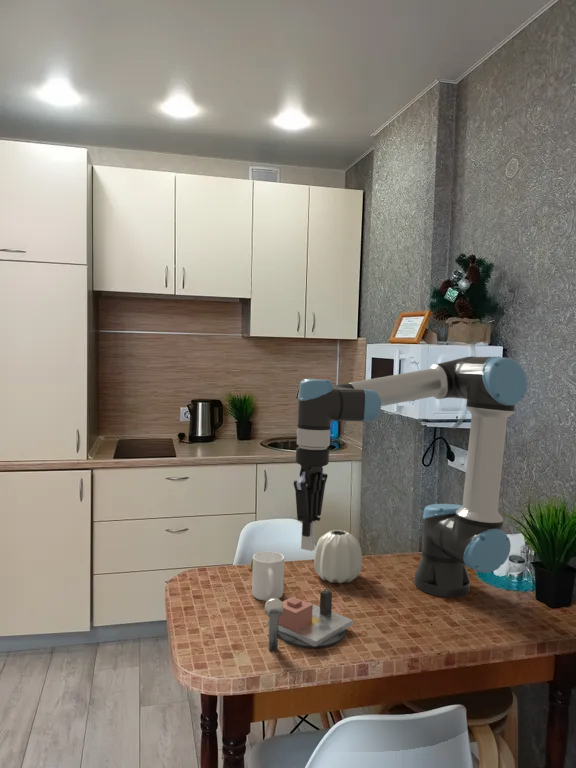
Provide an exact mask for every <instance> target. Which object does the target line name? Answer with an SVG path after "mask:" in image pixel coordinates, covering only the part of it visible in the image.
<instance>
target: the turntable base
mask: <svg viewBox="0 0 576 768" xmlns="http://www.w3.org/2000/svg"><path fill="white" fill-rule="evenodd" d="M345 636H346V629H345V630H343V631H342V632H340V633H338V634H337V635H335V636H333V637H332V638H330V639H328V640H327V641H325V642H323V643H322V644H320V645H318V646H317V647H314V646H312V645H310V644H308V643H305V642H303V641H301V640H299V639H296V638H294V637H292V636H290V635H288V634H285V633H283V632H281V631H279V630H278V639H280V640H281V641H283V642H285V643H286V644H288V645H291V646H295V647H298V648H303V649H324V648H325V649H326V648H329V647H333V646H335V645H337V644H339V643H340V642H341V641H343V639H344V638H345Z"/></svg>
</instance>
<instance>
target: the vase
mask: <svg viewBox="0 0 576 768" xmlns="http://www.w3.org/2000/svg"><path fill="white" fill-rule="evenodd" d="M315 545H316V546H315V549H314V555H313V557H314V558H313V559H314V560H313V562H314V567H313V568H314V572H315V573H316V574H317V575H318V577H319V578H320V579H321V580H323V581H328V582H329V583H332V584H333V583H337V584H343V583H351V582H352V581H354V580H355V579H356V578H357V577H358V576H359V574H360V573H361V571H362V569H363V554H362V548H361V544H360V542H359V541H358V540H357V538H356V537H354V535H352V534H351V533H350V532H348V531H346V530H342V529H333V530H330V531H328V532H326V533H324V534H323V535H322V536H320V537H319V539H318V540H317V542H316V544H315Z"/></svg>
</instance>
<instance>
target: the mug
mask: <svg viewBox="0 0 576 768" xmlns="http://www.w3.org/2000/svg"><path fill="white" fill-rule="evenodd" d="M252 559H253V573H252V580H251V581H252V585H251V586H252V587H251V588H252V591H251V592H252V595H253V597H254V598H255V599H257V600H260V601H265V602H267V601H268V600H269V599H271V598H277V599H279V600H280V599H281V598H282V597H283V595H284V583H285V581H284V580H285V579H284V578H285V556H284V554H282V553H280V552H276V551H261V552H256V553H255V554H253V555H252Z"/></svg>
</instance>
